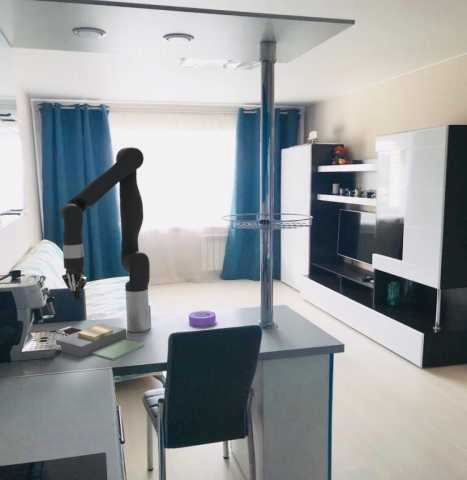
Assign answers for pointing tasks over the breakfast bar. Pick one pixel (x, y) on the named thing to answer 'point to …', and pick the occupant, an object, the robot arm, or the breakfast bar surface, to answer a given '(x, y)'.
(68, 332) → the smartphone
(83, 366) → the breakfast bar surface
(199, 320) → the masking tape
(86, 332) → the cork coaster
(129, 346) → the sage mat
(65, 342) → the gray rectangular box
